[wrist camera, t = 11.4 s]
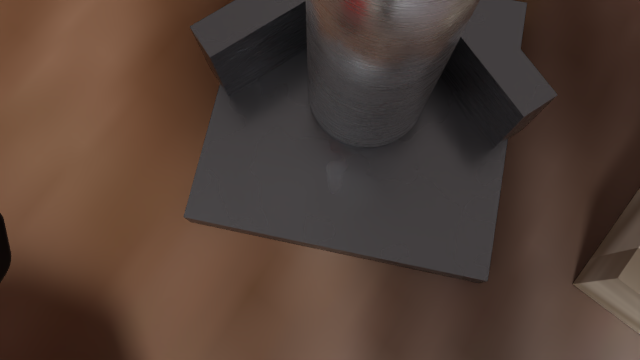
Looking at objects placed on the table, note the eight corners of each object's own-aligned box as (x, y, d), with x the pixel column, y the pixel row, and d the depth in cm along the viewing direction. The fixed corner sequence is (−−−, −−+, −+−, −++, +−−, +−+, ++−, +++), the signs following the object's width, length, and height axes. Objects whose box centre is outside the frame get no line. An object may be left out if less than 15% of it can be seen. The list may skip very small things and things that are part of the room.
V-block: (492, 285, 19) (535, 278, 15) (178, 219, 19) (140, 195, 15) (529, 19, 21) (575, -49, 17) (247, -31, 22) (228, -107, 18)
